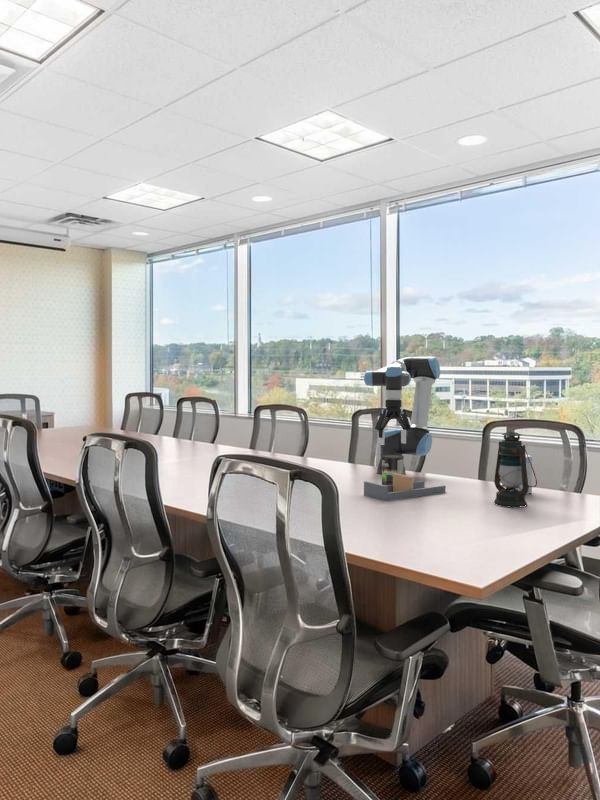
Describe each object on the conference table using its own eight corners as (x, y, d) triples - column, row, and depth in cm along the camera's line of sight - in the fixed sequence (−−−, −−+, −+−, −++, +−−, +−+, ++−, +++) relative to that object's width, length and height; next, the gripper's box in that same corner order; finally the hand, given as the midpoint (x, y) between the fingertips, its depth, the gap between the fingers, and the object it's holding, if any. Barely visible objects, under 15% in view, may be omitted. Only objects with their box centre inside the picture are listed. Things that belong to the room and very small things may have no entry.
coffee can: (387, 488, 287) (387, 457, 286) (377, 484, 296) (378, 454, 296) (407, 486, 290) (407, 457, 289) (397, 483, 299) (397, 454, 299)
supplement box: (526, 490, 283) (527, 453, 282) (532, 494, 274) (533, 456, 273) (505, 489, 284) (506, 453, 283) (510, 493, 275) (510, 456, 274)
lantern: (482, 500, 259) (483, 429, 258) (509, 498, 265) (511, 428, 263) (514, 510, 241) (515, 433, 240) (543, 507, 247) (544, 432, 245)
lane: (422, 487, 289) (422, 474, 289) (445, 492, 277) (445, 479, 277) (363, 495, 270) (364, 481, 269) (385, 500, 258) (385, 486, 257)
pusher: (395, 491, 278) (395, 473, 277) (413, 495, 268) (413, 477, 268) (392, 491, 277) (393, 473, 276) (410, 495, 267) (410, 477, 267)
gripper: (407, 398, 301) (406, 442, 302) (367, 399, 287) (367, 444, 288) (418, 399, 295) (417, 443, 296) (378, 399, 281) (377, 446, 282)
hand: (392, 444), depth 292 cm, fingers open, 13 cm apart
